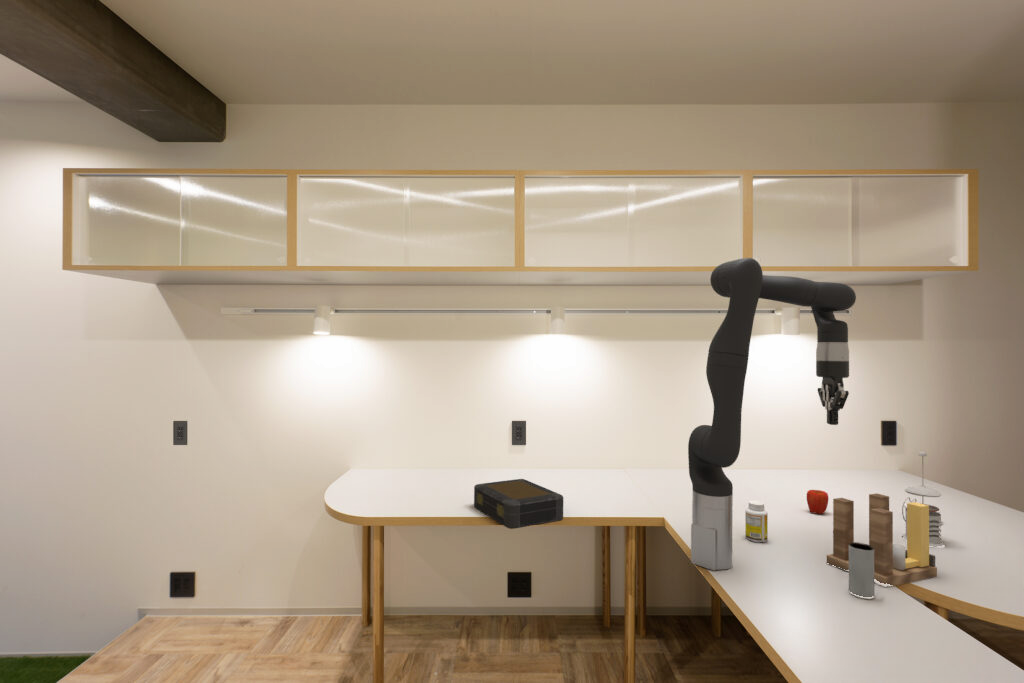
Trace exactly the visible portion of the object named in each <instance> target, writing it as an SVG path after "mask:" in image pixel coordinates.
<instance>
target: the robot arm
mask: <svg viewBox="0 0 1024 683" xmlns="http://www.w3.org/2000/svg"><path fill="white" fill-rule="evenodd" d="M761 266H762V265H761V264H760V263H759V261H758V260H757V259H754V258H752V257H744V258H738V259H734V260H731V261H726V262H724V263H721V264H719V265H717V266H716V267H715V268H714V269H713V270H712V272H711V274H710V279H709V281H710V286H711V288H712V289H713V291H714V293H716V294H717V295H719V296H720V297H723V298H729V301H728V308H727V312H726V314H725V317H724V319H723V321H722V322H721V324H720V326H719V327H718V329H717V330H716V332H715V335H714V336H713V338H712V340H711V342H710V344H709V348H708V353H707V360H706V369H705V370H706V371H705V373H706V374H705V375H706V379H707V384H708V387H709V390H710V394H711V398H712V402H713V415H712V422H711V425H708V424H701V425H698V426H697V427H695V428H694V429H692V432H691V433H690V435H689V438H688V444H687V448H688V450H687V451H688V452H687V455H688V474H689V478H690V481H691V484H692V502H691V503H692V506H691V508H692V509H691V510H692V511H691V512H692V513H691V520H692V521H691V526H690V531H691V532H690V563H691V564H694V565H697V566H699V567H701V568H705V569H708V570H712V571H719V570H720V571H721V570H729V569H730V568H732V566H733V506H734V503H733V500H734V499H733V498H734V497H733V495H734V494H733V493H734V492H733V491H734V490H733V483H732V481H731V480H730V479H729V477H727V475H726V474H725V472H724V469H723V468H725V469H726V468H728V467H731V466H732V465H734V463H735V462H736V461H737V459H738V457H739V455H740V450H741V442H742V412H743V411H742V410H743V402H744V401H743V400H744V392H745V382H746V376H747V370H748V364H749V357H750V356H749V354H750V346H751V338H752V332H753V326H754V320H755V316H756V311H757V307H758V303H759V299H762V300H763V299H764V300H768V301H773V302H774V301H775V302H780V303H785V304H789V305H795V306H801V307H808V308H809V307H810V308H811V312H812V315H813V319H814V322H815V324H816V329H817V331H816V332H817V334H816V335H817V337H816V341H817V343H816V350H815V351H816V352H815V355H816V356H815V357H816V358H815V359H816V360H815V373H816V374H815V375H816V377H818V378H822V380H821V386H820V387H818V388H817V393H818V397H819V399H820V402H821V405H822V407H823V408H824V410H826V424H828V425H829V426H838V425H839V411H840V410H843V409H844V407H845V404H846V402H847V399H848V397H849V394H850V392H849V390H845V386H844V385H845V384H844V380H843V379H846V378H849V377H850V348H849V326H848V323H847V322H846V321H844V320H840V319H836V315H835V314H834V312H841V311H847V310H848V309H850V308H852V307H853V306H854V305H855V303H856V300H857V295H856V292H855V290H854V289H853V288H852V287H851V286H849V285H847V284H845V283H841V282H831V281H827V282H826V281H825V282H824V281H823V282H822V281H816V280H811V279H807V278H801V277H797V276H786V275H785V276H784V275H765V274H763V269H762V267H761Z"/></svg>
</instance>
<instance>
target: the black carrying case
mask: <svg viewBox="0 0 1024 683" xmlns="http://www.w3.org/2000/svg"><path fill="white" fill-rule="evenodd" d="M473 488H474V489H473V492H474V493H473V506H474V507H473V508H475V509H476V510H477V511H479V512H480V513H482V514H483V515H485V516H487V517H488V518H489V519H492V520H493V521H495V522H497V523H499V524H500V525H502V526H504V527H505V528H507V529H510V530H513V529H520V528H525V527H530V526H531V527H532V526H536V525H542V524H549V523H554V522H558V521H559V522H560V521H562V520H563V519H564V496H563V495H562V494H560V493H558V492H556V491H553V490H551V489H549V488H546V487H543V486H542V485H539V484H536V483H534V482H532V481H530V480H527V479H524V478H517V479H510V480H508V479H507V480H501V481H493V482H485V483H477V484H475V485H474V487H473Z"/></svg>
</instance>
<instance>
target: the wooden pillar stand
mask: <svg viewBox="0 0 1024 683" xmlns="http://www.w3.org/2000/svg"><path fill="white" fill-rule="evenodd" d="M832 500H833V502H832V503H833V506H832V508H833V510H832V511H833V512H832V513H833V514H832V516H833V517H832V518H833V522H832V523H833V524H832V526H833V528H832V529H833V530H832V532H833V533H832V539H833V540H832V541H833V545H832V546H833V547H832V553H831V554H826V564H827V563H829V564H831V565H830V566H832V565H834V566H836V567H835V568H837V567H840V568H842V569H845V570H849V543H853V542H855V540H854V539H855V534H854V532H855V530H854V529H855V528H854V527H855V524H854V522H855V521H854V518H855V517H854V516H855V514H854V513H855V512H854V511H855V510H854V505H855V503H854V500H852V499H847V498H844V497H838V498H837V497H836V498H833V499H832ZM893 514H894V513H893V511H891V510H890V496H889V495H885V494H881V493H870V494H868V535H869V536H868V545H870V546H872V547H873V548H874V579H876V580H877V581H879V582H880V583H884V584H886V583H887V584H890V585H893V586H892V587H894V586H899V585H904V584H908V583H913V582H918V581H922V580H927V579H930V578H931V579H932V578H935V577H938V567H936V555H934V554H931V553H929V566H925V567H919V566H917V567H912V568H907V569H905V570H898V569H895V568H893V543H894V540H893V538H894V530H893V529H894V526H893V525H894V522H893V519H894V517H893V516H894V515H893ZM905 558H907V549H905ZM829 564H828V565H829ZM834 566H833V567H834Z"/></svg>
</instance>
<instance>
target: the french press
mask: <svg viewBox="0 0 1024 683" xmlns="http://www.w3.org/2000/svg"><path fill="white" fill-rule="evenodd" d="M918 456H920V457H921V458H922V462H921V465H922V466H921V467H922V468H921V473H922V474H921V476H922V478H921V479H922V480H921V481H922V485H913V486H909V487H907V488H905V489H904V491H905V492H906V493H907V494H910V495H913V496H917V497H918V496H919V497H922V503H921V502H920V504H924V505H928V506H929V546H933V547H937V546H942V545H944V544H945V542H943V541H942V539H941V537H942V534H941V533H942V529H941V528H942V524H940V523H942V514H941V513H937V511H939V510H940V508H939V507H937V506H935V505H931V504H926V503H924V497H927V498H938V497H939V498H940V497H941V496H942V493H940V492H939V491H938V490H936V489H935V488H932V487H928V486H925V485H924V457H928V454H927V452H926V451H919V452H918ZM907 500H909V503H913V502H916V503H917V499H916V498H913V499H912V500H911V497H910V496H908V497H906V498H905V499H904V501H903V503H902V507H901V515H902V519H903V520H904V522H905V534H903V535H902V536H903V538H904V539H905V540H907V508H906V512H905V515H904V508H905V507H904V505H905V504H906V501H907Z"/></svg>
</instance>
